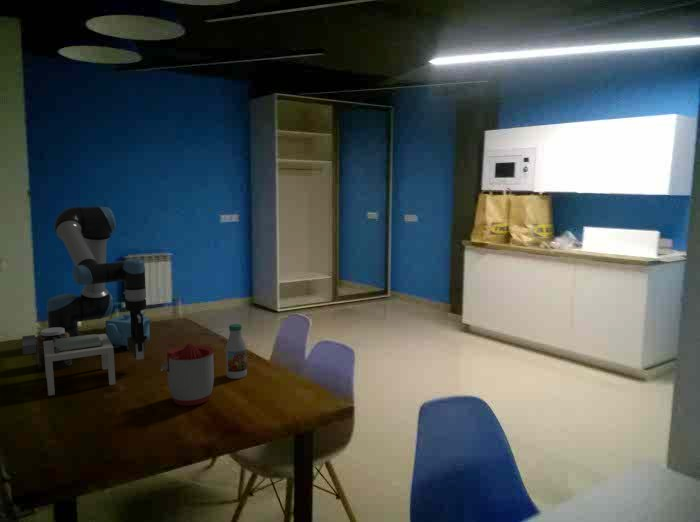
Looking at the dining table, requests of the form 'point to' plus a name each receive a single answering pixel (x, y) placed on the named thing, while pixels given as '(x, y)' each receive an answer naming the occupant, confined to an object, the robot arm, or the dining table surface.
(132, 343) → the cup
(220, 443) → the dining table surface
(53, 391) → the frame
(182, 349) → the citrus juicer
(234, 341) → the milk bottle
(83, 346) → the trapdoor
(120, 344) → the teakettle
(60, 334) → the jar
